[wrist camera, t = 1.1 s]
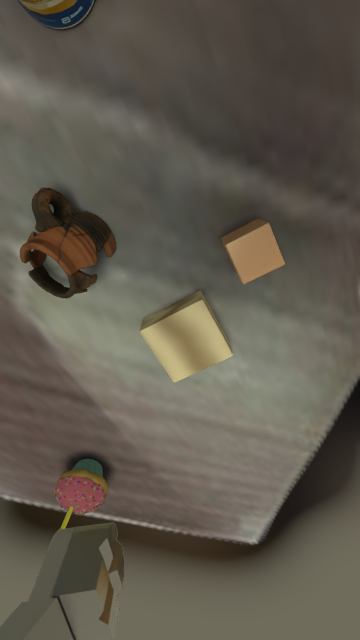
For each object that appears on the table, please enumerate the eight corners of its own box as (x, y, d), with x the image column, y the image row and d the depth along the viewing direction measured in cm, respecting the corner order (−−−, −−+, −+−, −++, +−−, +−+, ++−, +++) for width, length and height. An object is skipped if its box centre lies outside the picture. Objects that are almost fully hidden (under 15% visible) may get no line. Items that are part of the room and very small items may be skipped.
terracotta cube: (257, 218, 36) (268, 222, 31) (272, 255, 37) (285, 264, 33) (220, 238, 37) (225, 245, 32) (236, 273, 38) (243, 284, 34)
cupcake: (91, 490, 55) (68, 564, 44) (55, 465, 53) (21, 538, 42) (122, 468, 53) (107, 541, 42) (86, 442, 50) (60, 512, 40)
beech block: (200, 289, 40) (202, 299, 36) (229, 341, 43) (233, 355, 39) (143, 318, 41) (139, 331, 38) (175, 366, 44) (174, 382, 41)
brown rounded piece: (131, 267, 39) (95, 306, 33) (78, 267, 43) (39, 302, 38) (92, 169, 31) (38, 200, 26) (33, 181, 36) (-24, 209, 30)
